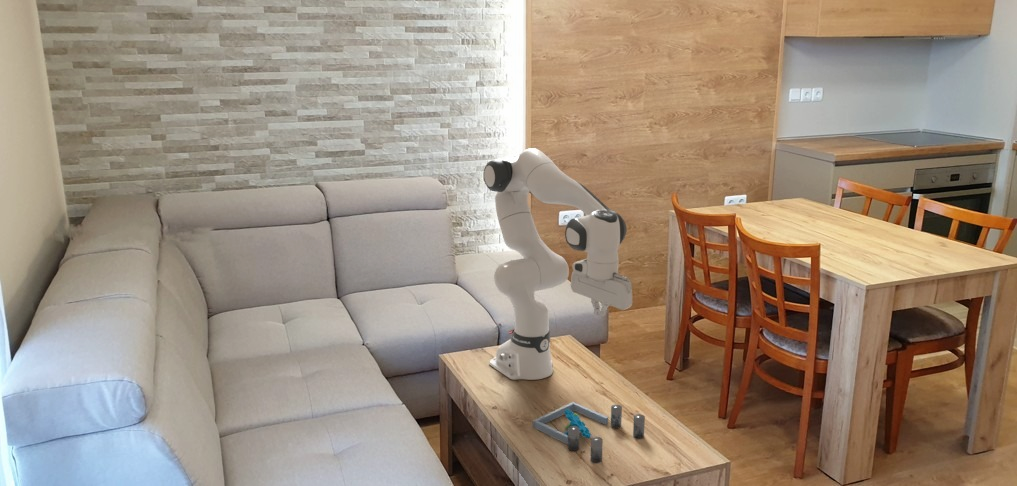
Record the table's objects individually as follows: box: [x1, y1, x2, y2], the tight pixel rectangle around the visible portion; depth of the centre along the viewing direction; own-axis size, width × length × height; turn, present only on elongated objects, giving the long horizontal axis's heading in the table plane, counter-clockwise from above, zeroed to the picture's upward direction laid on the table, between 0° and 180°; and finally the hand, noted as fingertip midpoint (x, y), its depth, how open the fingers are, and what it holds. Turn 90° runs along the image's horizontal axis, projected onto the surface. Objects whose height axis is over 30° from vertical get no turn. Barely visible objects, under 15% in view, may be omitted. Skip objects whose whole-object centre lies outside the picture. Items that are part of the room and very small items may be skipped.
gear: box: [564, 409, 592, 439], centre depth 216 cm, size 11×6×10 cm
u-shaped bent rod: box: [532, 401, 609, 445], centre depth 222 cm, size 14×17×2 cm
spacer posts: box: [567, 404, 646, 464], centre depth 212 cm, size 11×21×6 cm, turn 133°
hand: (599, 314), depth 221 cm, fingers closed
